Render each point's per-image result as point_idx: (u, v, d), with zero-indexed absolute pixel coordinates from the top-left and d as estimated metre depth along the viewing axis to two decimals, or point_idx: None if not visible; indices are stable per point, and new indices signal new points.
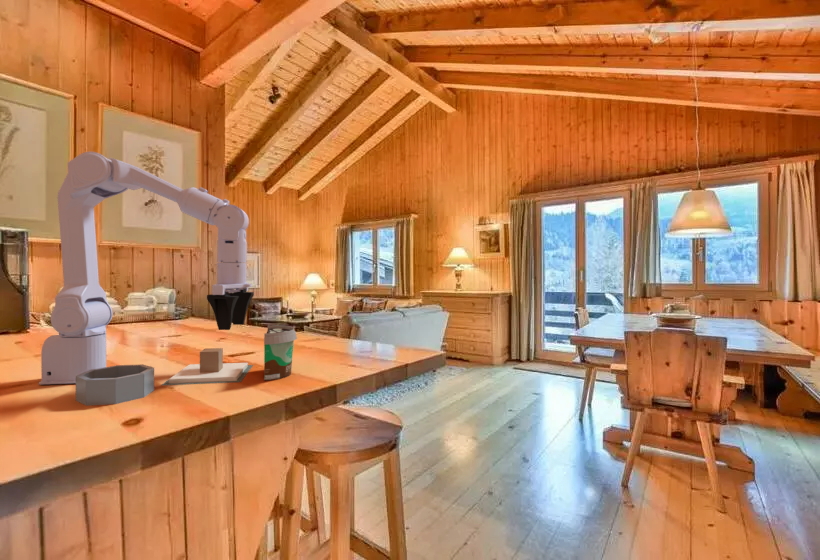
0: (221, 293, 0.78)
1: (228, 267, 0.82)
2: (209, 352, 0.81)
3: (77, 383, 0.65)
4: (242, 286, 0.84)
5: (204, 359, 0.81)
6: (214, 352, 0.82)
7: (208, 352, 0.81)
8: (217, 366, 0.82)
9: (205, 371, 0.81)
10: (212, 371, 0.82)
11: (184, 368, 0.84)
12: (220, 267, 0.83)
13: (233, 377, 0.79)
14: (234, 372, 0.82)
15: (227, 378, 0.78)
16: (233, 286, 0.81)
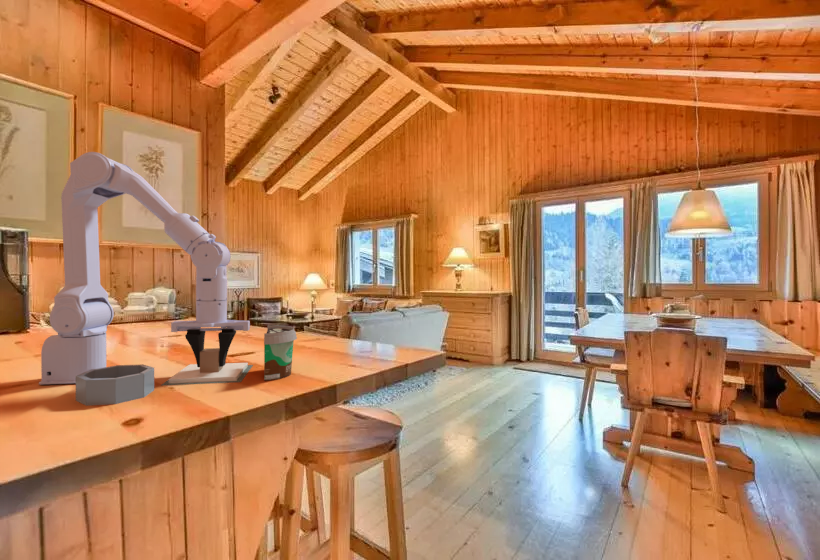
0: None
1: None
2: (209, 352, 0.81)
3: (77, 383, 0.65)
4: (199, 325, 0.80)
5: (204, 359, 0.81)
6: (214, 352, 0.82)
7: (208, 352, 0.81)
8: (217, 366, 0.82)
9: (205, 371, 0.81)
10: (212, 371, 0.82)
11: (184, 368, 0.84)
12: None
13: (233, 377, 0.79)
14: (234, 372, 0.82)
15: (227, 378, 0.78)
16: (187, 324, 0.80)
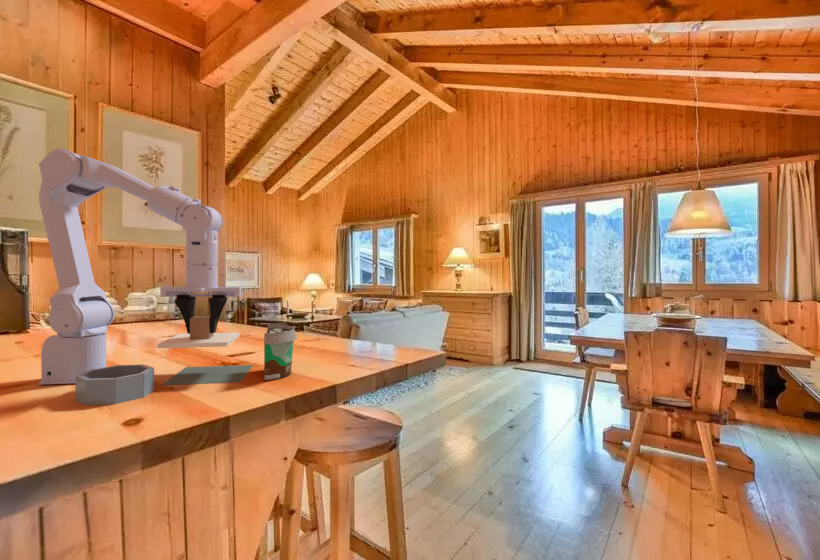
0: None
1: None
2: (199, 318, 0.80)
3: (77, 383, 0.65)
4: (189, 290, 0.78)
5: (195, 326, 0.79)
6: (204, 318, 0.80)
7: (198, 318, 0.80)
8: (208, 333, 0.80)
9: (195, 338, 0.80)
10: (202, 338, 0.80)
11: (174, 336, 0.82)
12: None
13: (224, 343, 0.77)
14: (225, 339, 0.80)
15: (218, 343, 0.77)
16: (177, 289, 0.79)
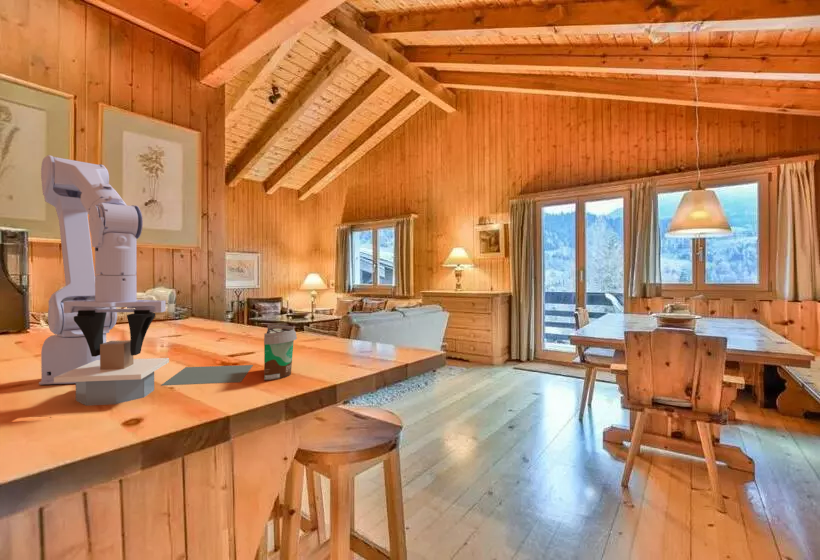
0: None
1: None
2: (112, 345, 0.67)
3: (77, 383, 0.65)
4: (97, 305, 0.66)
5: (106, 353, 0.67)
6: (118, 345, 0.67)
7: (111, 345, 0.67)
8: (122, 362, 0.68)
9: (107, 368, 0.67)
10: (116, 368, 0.67)
11: (86, 364, 0.70)
12: None
13: (137, 375, 0.64)
14: (142, 369, 0.68)
15: (129, 376, 0.64)
16: (83, 304, 0.66)
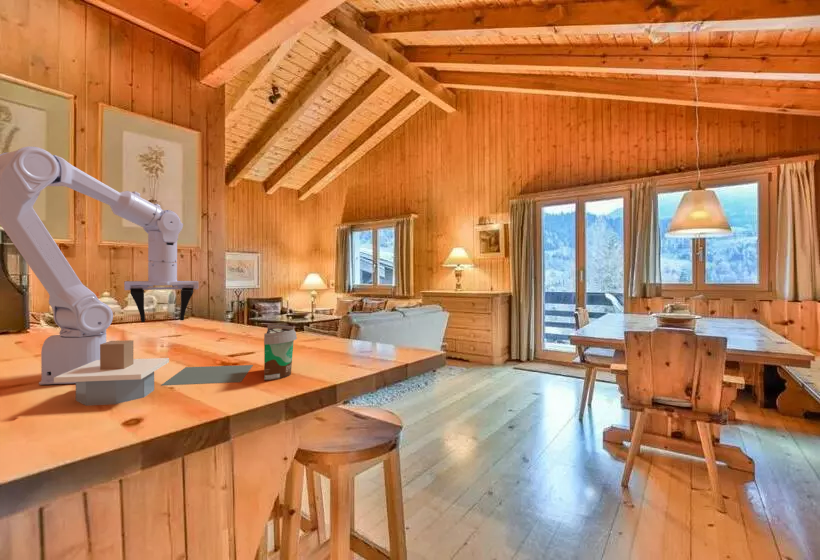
0: (124, 288, 0.89)
1: (148, 266, 0.92)
2: (112, 345, 0.67)
3: (77, 383, 0.65)
4: (155, 283, 0.90)
5: (106, 353, 0.67)
6: (118, 345, 0.67)
7: (111, 345, 0.67)
8: (122, 362, 0.68)
9: (107, 368, 0.67)
10: (116, 368, 0.67)
11: (86, 364, 0.70)
12: None
13: (137, 375, 0.64)
14: (142, 369, 0.68)
15: (129, 376, 0.64)
16: (142, 283, 0.90)
